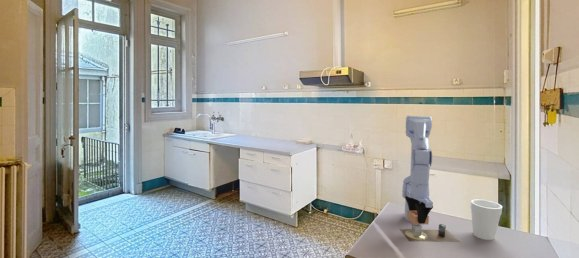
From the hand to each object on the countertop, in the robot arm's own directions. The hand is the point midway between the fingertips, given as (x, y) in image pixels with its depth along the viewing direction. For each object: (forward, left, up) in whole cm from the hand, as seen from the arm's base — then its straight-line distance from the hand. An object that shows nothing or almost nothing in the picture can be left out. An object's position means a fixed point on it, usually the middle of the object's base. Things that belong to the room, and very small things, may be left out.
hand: (417, 219), depth 104 cm
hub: (0, 0, -7) cm, 7 cm away
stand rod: (-6, +7, -7) cm, 12 cm away
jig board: (-3, +3, -7) cm, 8 cm away
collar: (0, 0, -1) cm, 1 cm away
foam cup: (-17, +18, -7) cm, 26 cm away
